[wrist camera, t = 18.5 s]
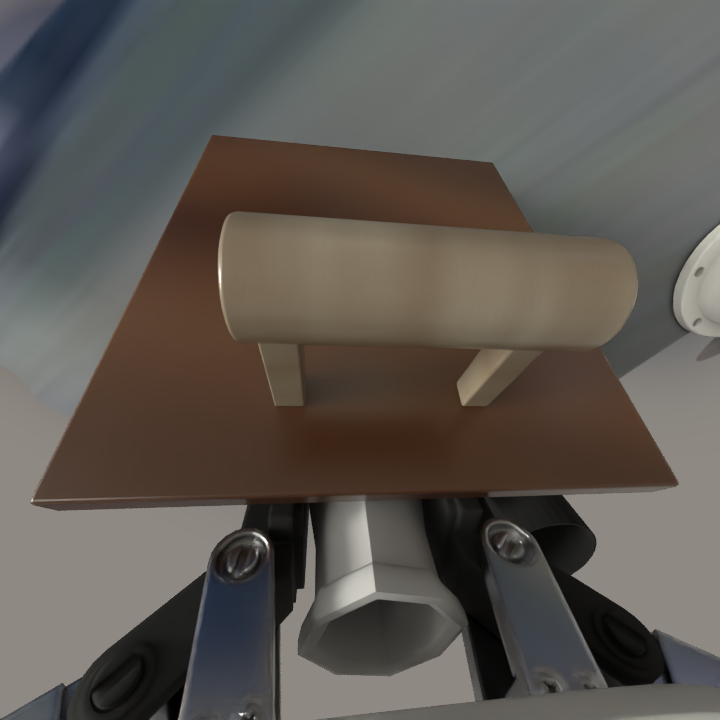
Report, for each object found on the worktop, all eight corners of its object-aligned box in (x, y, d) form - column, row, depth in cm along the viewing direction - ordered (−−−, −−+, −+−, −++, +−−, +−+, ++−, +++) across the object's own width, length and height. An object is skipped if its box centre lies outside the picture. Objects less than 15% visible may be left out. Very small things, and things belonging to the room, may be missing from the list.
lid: (652, 492, 8) (1054, 401, 4) (56, 511, 6) (-514, 389, 2) (486, 178, 16) (545, 40, 12) (216, 153, 15) (173, -16, 11)
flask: (454, 366, 15) (636, 596, 6) (361, 460, 17) (399, 732, 8) (333, 275, 13) (350, 438, 4) (243, 398, 15) (117, 688, 6)
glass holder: (465, 464, 38) (538, 603, 25) (370, 418, 34) (398, 556, 20) (515, 414, 35) (629, 540, 22) (420, 355, 31) (490, 469, 18)
